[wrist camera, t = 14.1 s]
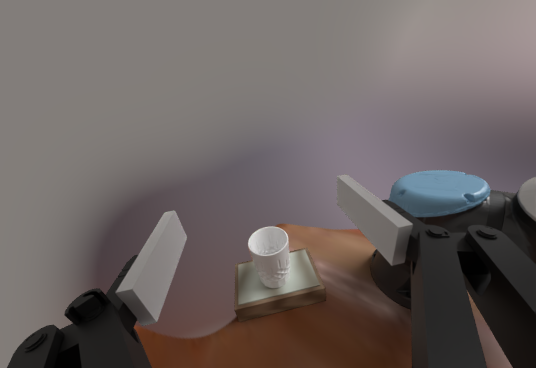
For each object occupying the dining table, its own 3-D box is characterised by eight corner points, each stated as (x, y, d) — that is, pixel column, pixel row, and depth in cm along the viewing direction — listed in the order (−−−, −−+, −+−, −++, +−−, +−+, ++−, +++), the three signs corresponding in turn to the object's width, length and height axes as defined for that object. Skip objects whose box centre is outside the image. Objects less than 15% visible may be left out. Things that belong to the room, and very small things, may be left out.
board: (308, 259, 49) (307, 246, 47) (325, 300, 39) (325, 287, 37) (239, 275, 48) (235, 263, 46) (239, 321, 38) (234, 309, 36)
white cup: (250, 284, 40) (240, 250, 36) (266, 256, 47) (259, 223, 42) (285, 297, 37) (278, 260, 32) (298, 264, 43) (293, 230, 39)
